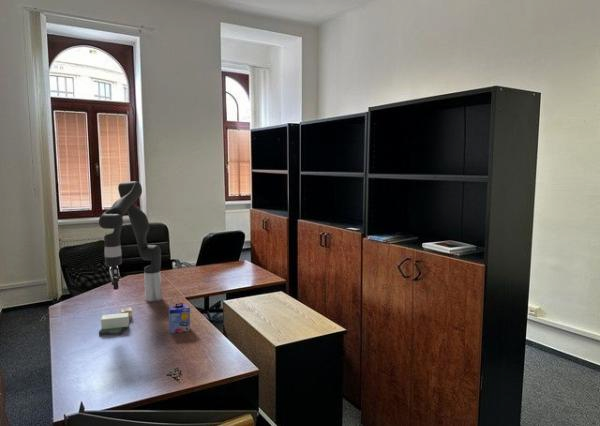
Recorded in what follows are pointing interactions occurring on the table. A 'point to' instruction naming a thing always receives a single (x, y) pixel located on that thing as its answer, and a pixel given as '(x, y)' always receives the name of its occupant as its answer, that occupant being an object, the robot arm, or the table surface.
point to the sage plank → (115, 320)
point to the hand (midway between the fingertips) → (115, 287)
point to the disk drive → (112, 331)
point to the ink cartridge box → (179, 318)
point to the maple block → (127, 310)
